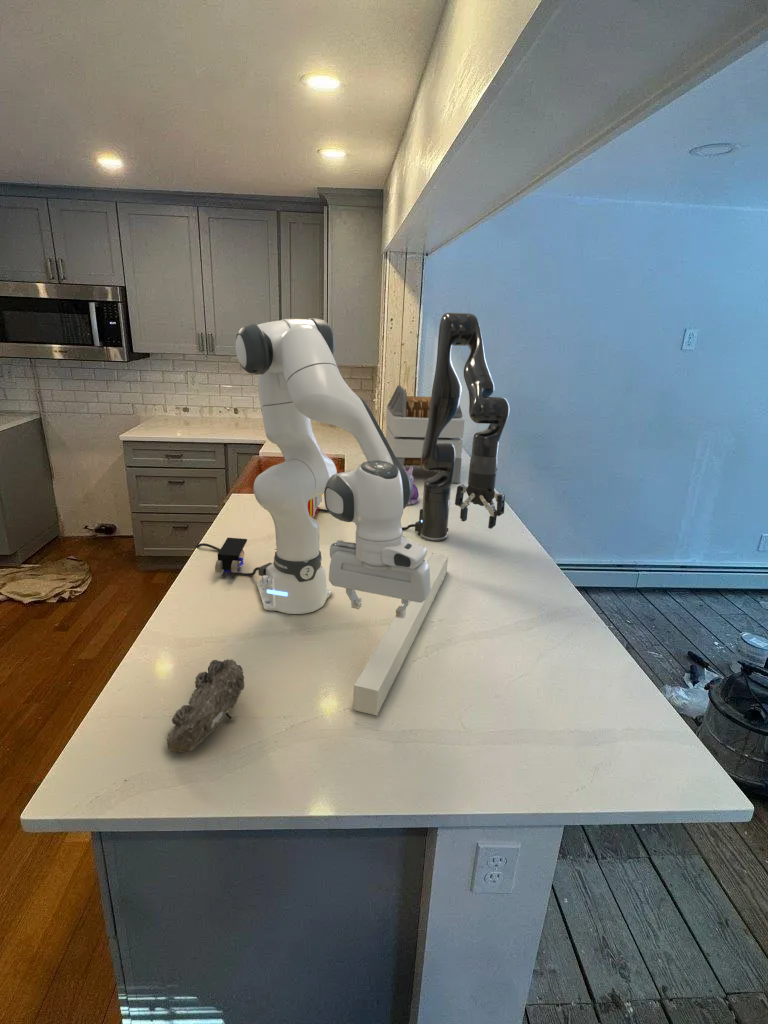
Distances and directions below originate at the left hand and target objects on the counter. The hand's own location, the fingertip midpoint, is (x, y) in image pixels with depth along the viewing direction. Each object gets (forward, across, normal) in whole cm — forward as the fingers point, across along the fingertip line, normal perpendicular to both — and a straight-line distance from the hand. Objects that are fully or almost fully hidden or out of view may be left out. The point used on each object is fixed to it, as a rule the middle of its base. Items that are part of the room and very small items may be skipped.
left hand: (378, 612), depth 112 cm
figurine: (+17, -35, +118) cm, 124 cm away
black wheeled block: (+16, -60, +34) cm, 71 cm away
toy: (+16, -63, +82) cm, 104 cm away
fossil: (+18, -26, -21) cm, 37 cm away
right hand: (+1, +6, +60) cm, 60 cm away
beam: (+18, -2, +26) cm, 32 cm away
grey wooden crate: (+16, -44, +162) cm, 169 cm away
